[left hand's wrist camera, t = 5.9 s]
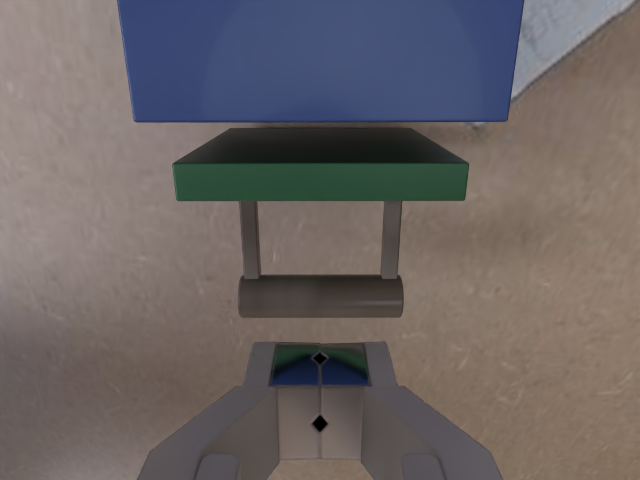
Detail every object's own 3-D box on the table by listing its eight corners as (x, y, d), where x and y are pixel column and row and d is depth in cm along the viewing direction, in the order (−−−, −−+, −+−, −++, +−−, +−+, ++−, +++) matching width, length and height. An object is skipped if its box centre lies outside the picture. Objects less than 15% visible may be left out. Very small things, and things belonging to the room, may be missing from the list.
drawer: (403, 254, 25) (448, 353, 16) (238, 254, 25) (193, 354, 16) (435, -233, 18) (549, -534, 9) (204, -232, 18) (90, -533, 9)
